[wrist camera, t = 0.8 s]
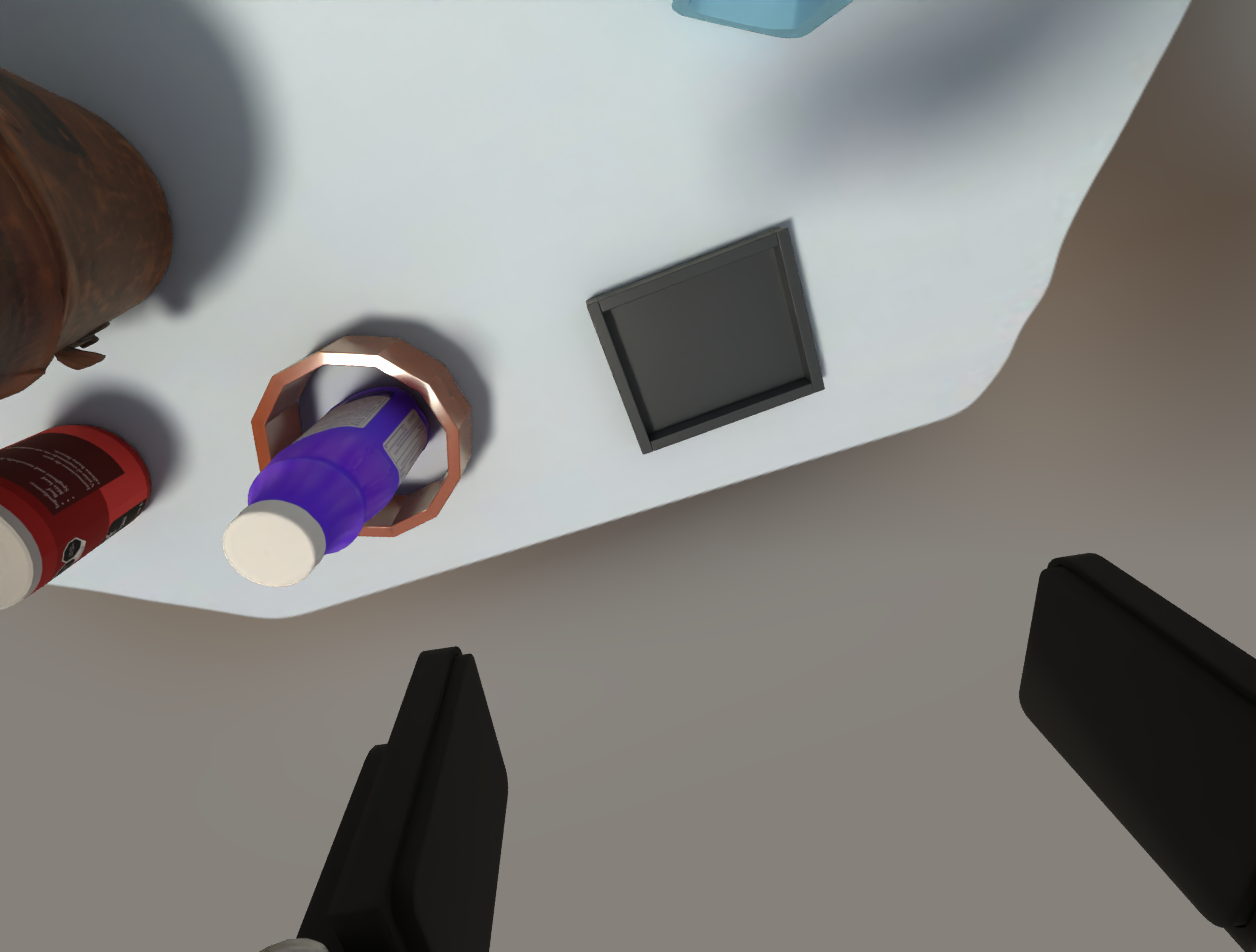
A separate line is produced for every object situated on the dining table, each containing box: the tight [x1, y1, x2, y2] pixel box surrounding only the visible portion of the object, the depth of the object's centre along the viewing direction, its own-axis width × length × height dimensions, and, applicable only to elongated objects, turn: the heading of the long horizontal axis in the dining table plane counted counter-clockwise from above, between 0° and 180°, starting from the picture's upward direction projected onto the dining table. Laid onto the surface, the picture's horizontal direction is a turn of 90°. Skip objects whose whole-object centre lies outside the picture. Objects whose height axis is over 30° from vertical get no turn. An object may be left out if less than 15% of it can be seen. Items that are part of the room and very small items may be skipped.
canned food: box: [0, 425, 151, 610], centre depth 39 cm, size 8×8×11 cm
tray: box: [586, 227, 825, 454], centre depth 42 cm, size 14×11×2 cm
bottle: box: [223, 386, 430, 587], centre depth 36 cm, size 7×6×17 cm
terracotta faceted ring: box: [251, 335, 472, 537], centre depth 42 cm, size 13×13×5 cm
